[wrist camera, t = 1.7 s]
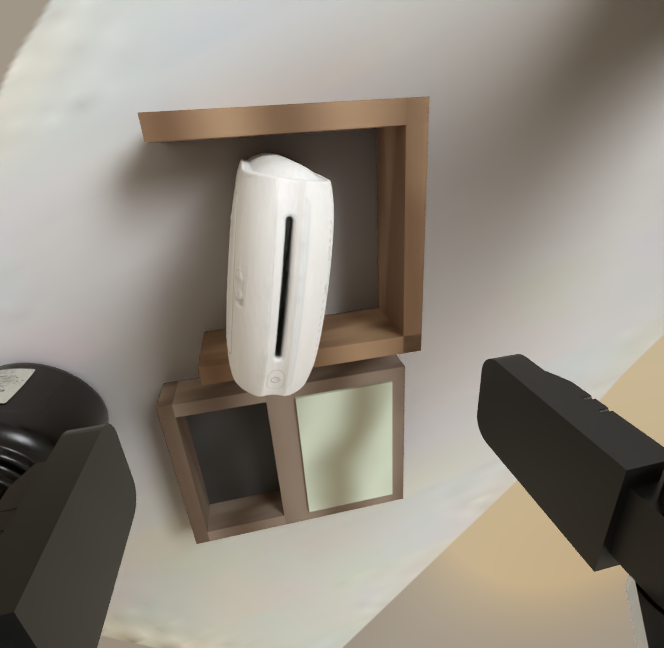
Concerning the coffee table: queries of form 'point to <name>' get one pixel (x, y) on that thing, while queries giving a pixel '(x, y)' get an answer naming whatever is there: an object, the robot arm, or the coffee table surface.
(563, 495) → the robot arm
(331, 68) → the coffee table surface
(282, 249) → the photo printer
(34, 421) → the ink bottle
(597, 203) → the coffee table surface
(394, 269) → the wooden cubby shelf
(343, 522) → the coffee table surface
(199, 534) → the two-compartment wooden organizer
